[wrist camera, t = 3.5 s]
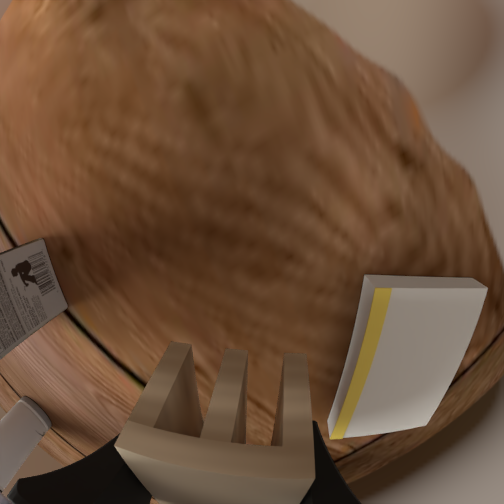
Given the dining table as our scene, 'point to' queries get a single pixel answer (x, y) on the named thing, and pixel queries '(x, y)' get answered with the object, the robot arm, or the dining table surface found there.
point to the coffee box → (26, 293)
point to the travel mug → (20, 436)
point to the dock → (403, 352)
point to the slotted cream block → (219, 435)
